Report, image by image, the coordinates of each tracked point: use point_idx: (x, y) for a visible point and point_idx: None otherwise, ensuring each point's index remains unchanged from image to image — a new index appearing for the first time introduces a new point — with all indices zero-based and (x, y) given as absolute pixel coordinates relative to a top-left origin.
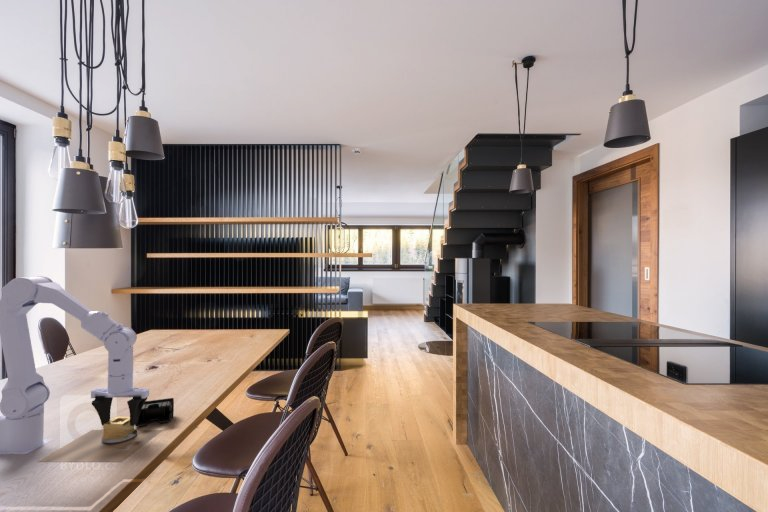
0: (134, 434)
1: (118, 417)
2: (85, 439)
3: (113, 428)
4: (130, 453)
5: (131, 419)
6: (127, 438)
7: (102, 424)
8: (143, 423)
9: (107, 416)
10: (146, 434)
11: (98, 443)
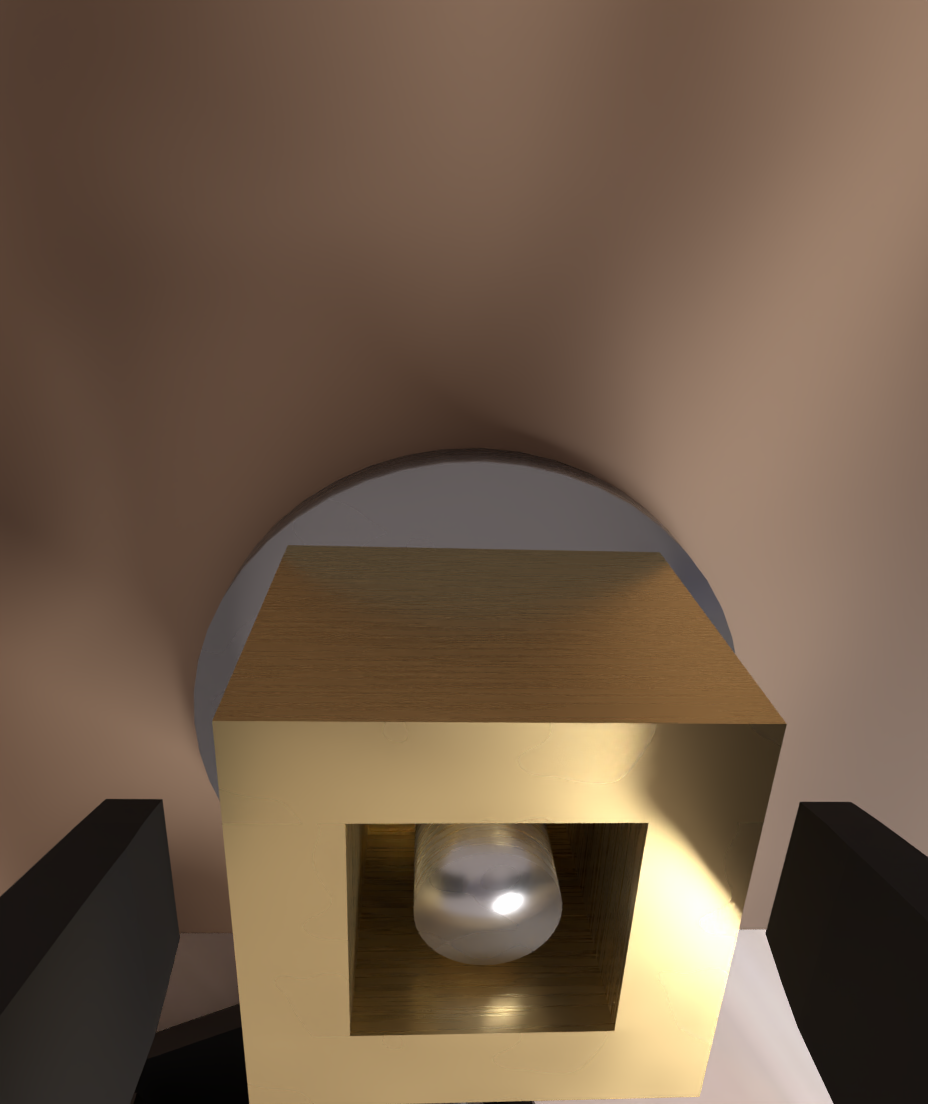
0: (201, 731)
1: (615, 1064)
2: None
3: (483, 657)
4: None
5: (23, 906)
6: (226, 592)
7: (853, 817)
8: None
9: (869, 1048)
10: (91, 798)
11: (705, 495)
